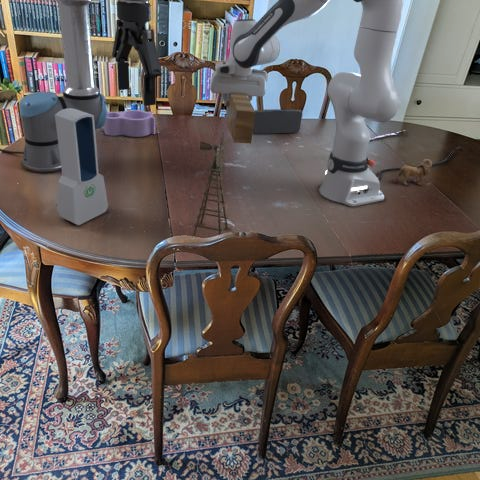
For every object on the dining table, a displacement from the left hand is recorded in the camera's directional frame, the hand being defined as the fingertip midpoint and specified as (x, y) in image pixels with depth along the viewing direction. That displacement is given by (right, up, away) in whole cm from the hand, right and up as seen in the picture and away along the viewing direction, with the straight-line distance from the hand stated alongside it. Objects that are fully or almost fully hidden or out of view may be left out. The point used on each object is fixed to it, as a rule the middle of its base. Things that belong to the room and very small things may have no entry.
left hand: (136, 97), depth 115 cm
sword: (+93, +12, +100) cm, 137 cm away
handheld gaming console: (+41, +12, +92) cm, 102 cm away
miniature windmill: (+17, -33, +17) cm, 41 cm away
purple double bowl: (-20, +9, +77) cm, 80 cm away
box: (+25, +4, +54) cm, 59 cm away
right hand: (+24, +14, +59) cm, 65 cm away
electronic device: (-19, -28, +19) cm, 39 cm away
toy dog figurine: (+89, -14, +60) cm, 108 cm away
